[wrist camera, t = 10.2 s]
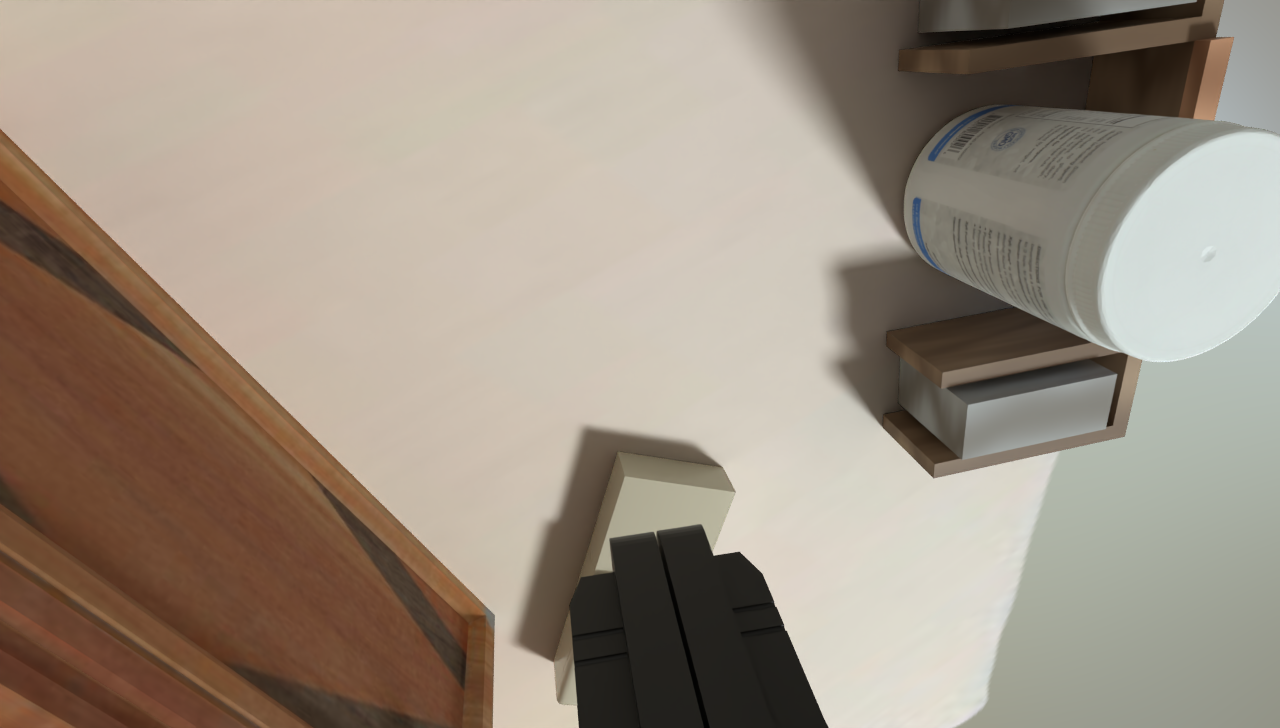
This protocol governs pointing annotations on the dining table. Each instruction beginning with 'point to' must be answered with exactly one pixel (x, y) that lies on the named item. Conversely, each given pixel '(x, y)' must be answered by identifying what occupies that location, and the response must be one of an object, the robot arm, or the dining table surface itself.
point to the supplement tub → (1105, 221)
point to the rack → (1012, 338)
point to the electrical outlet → (645, 523)
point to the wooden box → (190, 522)
